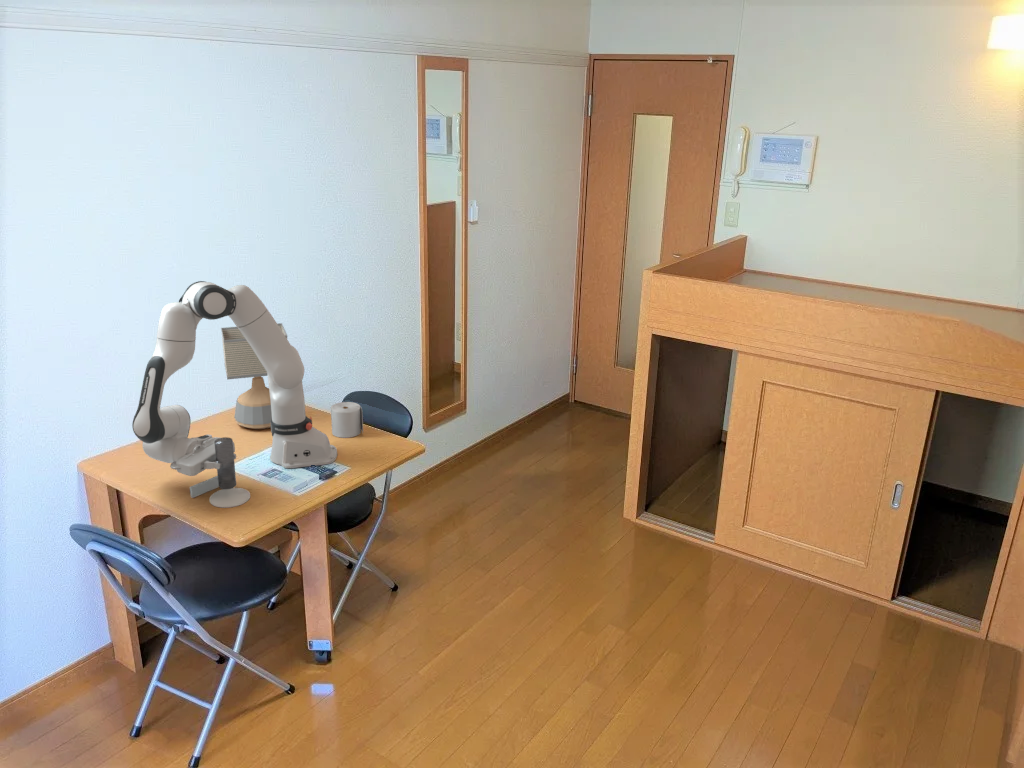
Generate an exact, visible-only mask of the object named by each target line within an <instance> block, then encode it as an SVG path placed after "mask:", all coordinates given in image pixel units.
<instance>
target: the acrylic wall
mask: <svg viewBox="0 0 1024 768" xmlns="http://www.w3.org/2000/svg"><path fill="white" fill-rule="evenodd" d="M217 488H218V489H219V486H218V475H215V476H213V477H211V478H208V479H206V480H203V481H201V482H198V483H196V484H193V485H191V486H189V493H190V494H189V495H190V498H191V499H192V498H196V497H198V496H200V495H203V494H206V493H209V492H211V491H213V490H215V489H217Z"/></svg>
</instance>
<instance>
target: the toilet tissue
mask: <svg viewBox="0 0 1024 768" xmlns="http://www.w3.org/2000/svg"><path fill="white" fill-rule="evenodd" d="M363 415H364V414H363V408H362V406H361V405H360V404H359V403H356V402H353V401H352V402H351V401H343V402H338V403H334V404H333V405H331V407H330V417H331V434H332V435H333V436H334V437H337V438H343V439H344V438H345V439H346V438H354V437H356V436H359V435H360V434H361V433H362V432H364V420H363V419H364V417H363Z"/></svg>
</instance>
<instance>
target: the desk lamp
mask: <svg viewBox="0 0 1024 768" xmlns="http://www.w3.org/2000/svg"><path fill="white" fill-rule="evenodd" d="M277 324H278V325H279V327H280V328H281V330H282V332H283V333H284V335H285V337H286V338H287V339H288V334H287V331H286V329H285V328H284V327H285V326H284V325H283V323H278V322H277ZM220 331H221V332H220V333H221V340H222V348H223V349H222V350H223V359H224V360H223V361H224V370H225V374H226V378H227V379H226V380H234V379H235V380H238V379H245V378H247V379H248V378H252V380H251V388H249V389H248V390H246V391H244V392H243V393H241V394H240V395H238V397H237V400H236V402H235V409H234V410H235V411H234V417H233V418H234V421H235V422H236V424H237V425H239V426H241V427H244V428H248V429H252V430H264V429H271V419H272V413H271V401H270V392H269V387H267V386H266V383H265V379H264V377H268V374H267V371H266V370H265V368H264V367H263V365H262V364H261V362H260V360H259V359H258V357H257V356H256V354H255V352H254V351H253V349H252V348H251V346H250V345H249V343H248V342H247V340H246V339H245V338H244V336H243V335H242V333H241V332H240V331H239V329H238V328H237V326H230V327H229V326H228V327H220Z"/></svg>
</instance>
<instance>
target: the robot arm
mask: <svg viewBox="0 0 1024 768" xmlns="http://www.w3.org/2000/svg"><path fill="white" fill-rule="evenodd" d="M224 317H229V318H230V320H232V321H233V323H234V325H235V327H237V328H238V329H239V331H240V332H241V333H242V335H243V336H244V338H245V339H246V340H247V342H248V343H249V345H250V346H251V348H252V349H253V351H254V352H255V354H256V356H257V357H258V359H259V360H260V362H261V364H262V365H263V367H264V368H265V370H266V371H267V374H268V376H267V382H268V383H267V384H268V388H269V392H270V401H271V413H272V419H271V427H270V432H271V436H272V442H271V443H272V446H271V453H270V456H269V459H270V461H271V462H272V463H273V464H277V465H279V466H282V467H283V468H284V469H295V468H296V469H297V468H304V467H305V468H306V467H312V466H311V465H315V466H323V465H330V464H332V463H333V462H335V461H336V459H337V458H338V457H337V456H338V449H337V447H336V446H335V445H333V444H331V442H330V440H329V437H328V435H327V434H326V433H324V432H322V431H321V430H319V429H317V428H315V427H314V426H313V419H312V416H310V417H308V416H306V404H305V403H306V402H305V401H306V400H305V393H304V385H303V379H304V374H305V366H304V363H303V361H302V358H301V355H300V353H299V351H298V349H296V347H295V346H293V345H292V344H291V343H290V342H289V340H288V337H287V338H286V337H285V335H284V333H283V332H282V330H281V328H280V327H279V325H278V322H277V321H276V320H275V318H274V317H273V315H272V314H271V312H270V311H269V309H268V308H267V306H265V304H264V303H263V301H262V299H261V298H260V297H259V296H258V295H257V294H256V293H255V292H254V291H253V290H252V289H251V287H248V286H247V285H245V284H239V285H234V286H232V287H230V288H229V289H226V288H224V287H222V286H221V285H218V284H216V283H214V282H209V281H204V280H203V281H202V280H198V281H195V282H192V283H190V285H188V286H187V288H186V289H185V291H184V292H183V294H182V295H181V296H180V298H179V300H178V301H175V302H169V303H167V304H165V305H164V306H163V307H162V309H161V312H160V315H159V320H158V325H157V332H156V333H157V334H156V342H155V348H154V350H153V354H152V356H151V358H150V359H149V360H148V362H147V365H146V367H145V372H144V376H143V380H142V387H141V390H140V395H139V400H138V406H137V409H136V410H135V411H136V412H135V415H134V416H133V418H132V419H133V420H132V423H131V424H132V425H131V426H132V431H133V433H134V435H135V437H137V438H138V439H139V440H140V441H141V442H142V450H143V452H144V454H145V455H147V456H148V457H149V458H151V459H153V460H157V461H158V462H162V463H167V464H170V466H169V467H170V468H171V470H176V472H178V473H179V474H182V475H185V476H189V477H195V476H197V475H198V474H200V473H202V472H204V471H205V470H211V469H212V470H213V469H216V470H217V469H220V468H221V467H222V463H221V462H219V461H217V462H216V453H215V443H214V441H215V440H216V439H218V438H220V437H217V436H214V437H213V435H212V434H205V435H200V436H196V437H191V438H190V437H189V434H190V429H191V419H192V418H191V415H190V413H189V412H188V410H187V409H186V408H185V407H184V406H183V405H180V404H174V405H165V406H163V407H161V404H162V399H163V393H164V389H165V388H164V387H165V385H166V382H167V381H168V380H169V379H170V377H171V376H172V375H173V374H175V373H177V372H178V371H179V370H181V369H183V368H184V367H186V366H187V365H188V364H190V362H191V361H192V360H193V358H194V354H195V351H196V338H197V337H196V335H197V331H196V330H197V328H198V325H199V323H200V322H201V320H203V319H206V320H210V321H211V320H218V319H222V318H224ZM233 451H234V460H236V459H237V454H236V447H235V441H233Z"/></svg>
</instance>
